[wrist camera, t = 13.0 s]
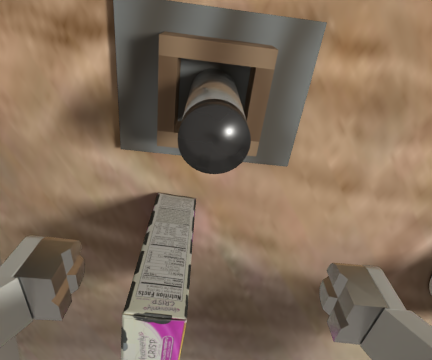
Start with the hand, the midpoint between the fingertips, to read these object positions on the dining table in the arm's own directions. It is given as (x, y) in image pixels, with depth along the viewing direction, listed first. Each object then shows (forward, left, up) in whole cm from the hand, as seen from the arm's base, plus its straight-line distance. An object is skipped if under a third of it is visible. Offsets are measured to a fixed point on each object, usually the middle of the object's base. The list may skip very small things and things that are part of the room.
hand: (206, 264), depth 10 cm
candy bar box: (+3, +18, -23) cm, 29 cm away
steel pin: (0, 0, -21) cm, 21 cm away
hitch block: (0, 0, -22) cm, 22 cm away
